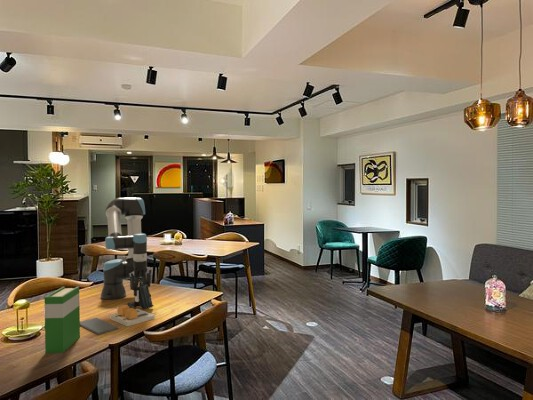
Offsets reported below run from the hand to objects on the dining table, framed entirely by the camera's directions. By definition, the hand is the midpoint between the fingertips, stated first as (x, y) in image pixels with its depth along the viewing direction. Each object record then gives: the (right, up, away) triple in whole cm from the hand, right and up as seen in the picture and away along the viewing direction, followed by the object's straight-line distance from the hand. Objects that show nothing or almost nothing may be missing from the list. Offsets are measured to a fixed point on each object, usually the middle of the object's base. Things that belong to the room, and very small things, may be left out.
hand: (140, 300), depth 230 cm
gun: (0, -5, 0) cm, 5 cm away
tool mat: (-12, -6, -30) cm, 33 cm away
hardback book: (-18, -7, -53) cm, 56 cm away
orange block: (+3, -3, -23) cm, 24 cm away
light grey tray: (+1, -5, -18) cm, 19 cm away
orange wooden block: (-3, -3, -18) cm, 19 cm away
